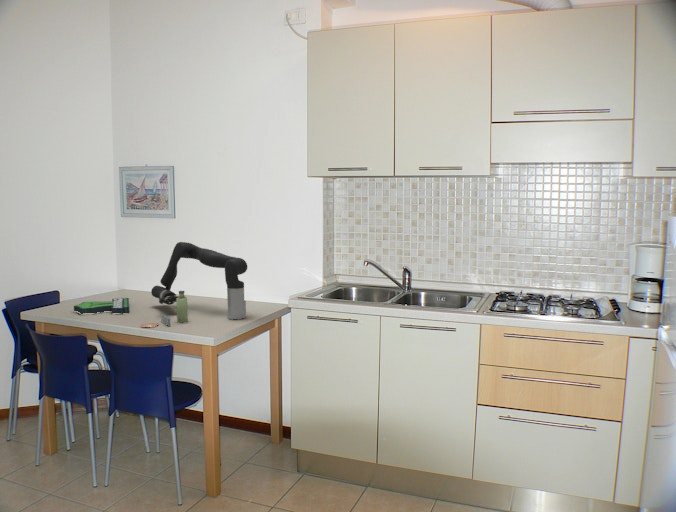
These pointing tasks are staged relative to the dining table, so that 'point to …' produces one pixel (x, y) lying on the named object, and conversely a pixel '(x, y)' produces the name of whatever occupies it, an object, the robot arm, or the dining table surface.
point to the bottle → (182, 308)
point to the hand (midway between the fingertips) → (176, 301)
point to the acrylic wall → (165, 319)
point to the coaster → (149, 325)
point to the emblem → (104, 306)
